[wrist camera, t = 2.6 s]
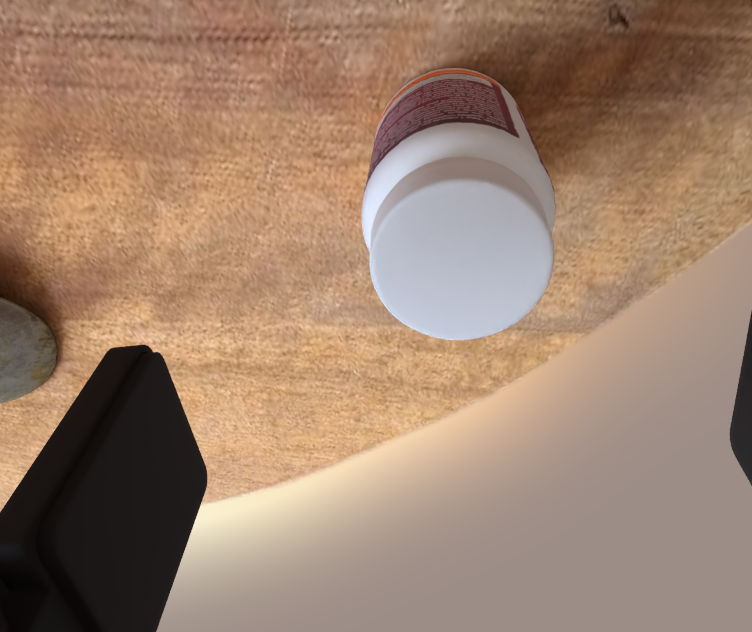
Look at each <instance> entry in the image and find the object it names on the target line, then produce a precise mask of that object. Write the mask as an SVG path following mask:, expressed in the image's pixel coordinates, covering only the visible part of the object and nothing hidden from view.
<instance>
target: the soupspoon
mask: <svg viewBox="0 0 752 632" xmlns="http://www.w3.org/2000/svg"><path fill="white" fill-rule="evenodd" d="M56 356H57V346H56V341H55V338H54V336H53V334H52V332H51V330H50V329H49V328H48V326H47V325H46V324H44V323H43V321H42V320H41V319H40V318H39V317H38V316H36V315H35V314H33V313H31V312H29V311H27V310H26V309H25V308H23V307H22V306H19V305H17V304H15V303H13V302H11V301H8V300H6V299H4V298H1V297H0V403H4V402H8V401H11V400H14V399H17V398H20V397H22V396H24V395H26V394H28V393H30V392H32V391H33V390H35V389H36V388H38V387H39V386H40V385H42V384H43V383H44V382H45V381H46V380H47V379H48V378H49V377H50V374H51V372H52V370H53V369H54V367H55V365H56Z"/></svg>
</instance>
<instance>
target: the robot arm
mask: <svg viewBox="0 0 752 632" xmlns="http://www.w3.org/2000/svg"><path fill="white" fill-rule="evenodd" d="M730 442H731V446H732V450H733V452H734V454H735V456H736V458H737V460H738V462H739V464H740V465H741V467H742V469H743V471H744V472H745V474H746V476H747V477H748V480H749V481H750V483H751V485H752V312H751V318H750V323H749V329H748V334H747V340H746V346H745V351H744V356H743V362H742V367H741V373H740V378H739V384H738V389H737V395H736V400H735V406H734V411H733V416H732V422H731V427H730ZM206 487H207V470H206V466H205V464H204V461H203V458H202V456H201V453H200V451H199V448H198V446H197V443H196V440H195V438H194V435H193V433H192V430H191V428H190V425H189V422H188V420H187V417H186V415H185V412H184V410H183V407H182V404H181V402H180V399H179V397H178V394H177V391H176V389H175V386H174V384H173V381H172V379H171V376H170V373H169V371H168V368H167V366H166V363H165V361H164V358H163V357H162V355H161V354H160V353H158V352H154V353H153V351H152V350H151V349H150V348H149V346H146V345H137V346H126V347H115V348H111V349H110V350H109V351H108V352H107V353H106V354H105V356H104V357H103V359H102V360H101V362H100V363H99V365H98V366H97V368H96V369H95V371H94V372H93V374H92V375H91V377H90V378H89V380H88V381H87V383H86V384H85V386H84V387H83V389H82V390H81V392H80V393H79V395H78V397H77V398H76V400H75V401H74V403H73V404H72V406H71V407H70V409H69V410H68V412H67V413H66V415H65V416H64V418H63V419H62V421H61V422H60V424H59V425H58V427H57V428H56V430H55V431H54V433H53V434H52V436H51V437H50V439H49V440H48V442H47V443H46V445H45V446H44V448H43V449H42V451H41V452H40V454H39V455H38V457H37V458H36V460H35V461H34V463H33V464H32V466H31V467H30V469H29V470H28V472H27V473H26V475H25V476H24V478H23V479H22V481H21V482H20V484H19V485H18V487H17V488H16V490H15V491H14V493H13V494H12V496H11V497H10V499H9V500H8V502H7V503H6V505H5V506H4V508H3V509H2V511H1V512H0V632H156V630H157V628H158V625H159V622H160V619H161V616H162V613H163V611H164V607H165V605H166V602H167V599H168V596H169V593H170V590H171V588H172V585H173V582H174V579H175V576H176V573H177V570H178V567H179V565H180V562H181V559H182V556H183V553H184V550H185V548H186V545H187V542H188V539H189V536H190V533H191V530H192V527H193V525H194V522H195V519H196V516H197V513H198V510H199V508H200V505H201V502H202V499H203V496H204V493H205V490H206Z"/></svg>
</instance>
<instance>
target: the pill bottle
mask: <svg viewBox="0 0 752 632" xmlns="http://www.w3.org/2000/svg"><path fill="white" fill-rule="evenodd" d="M555 210H556V204H555V194H554V188H553V185H552V182H551V180H550V177H549V174H548V172H547V170H546V168H545V167H544V165H543V162H542V160H541V157H540V155H539V152H538V150H537V147H536V146H535V143H534V141H533V138H532V136H531V134H530V131H529V129H528V127H527V125H526V123H525V120H524V118H523V115H522V113H521V111H520V109H519V107H518V105H517V103H516V102H515V100H514V99H513V97H512V96H511V95H510V94H509V93H508V91H507V90H506V89H505V88H504V87H503V86H502V85H501V84H499V83H498V82H496V81H495V80H494V79H492V78H490V77H488V76H486V75H484V74H482V73H479V72H477V71H473V70H469V69H463V68H444V69H438V70H434V71H430V72H428V73H425V74H423V75H420V76H418V77H416V78H415V79H413V80H411V81H410V82H408V83H407V84H406V85H405V86H403V87H402V88H401V89H400V90H399V91H398V92H397V93H396V94H395V95H394V96H393V98H392V99H391V100H390V102H389V103H388V104H387V106H386V108H385V110H384V112H383V114H382V116H381V118H380V121H379V124H378V128H377V132H376V137H375V141H374V148H373V152H372V158H371V164H370V169H369V173H368V179H367V183H366V187H365V190H364V196H363V203H362V228H363V234H364V238H365V242H366V245H367V248H368V250H369V252H370V261H369V262H370V272H371V277H372V282H373V285H374V287H375V290H376V292H377V294H378V296H379V298H380V299H381V301H382V303H383V304H384V305H385V307H386V308H387V309H388V310H389V311H390V312H391V314H392V315H394V316H395V317H396V318H397V319H398V320H399V321H401V322H402V323H403V324H405V325H406V326H408V327H410V328H412V329H414V330H416V331H418V332H420V333H422V334H425V335H428V336H431V337H436V338H441V339H447V340H469V339H476V338H481V337H485V336H489V335H492V334H495V333H498V332H500V331H502V330H505V329H507V328H508V327H510V326H512V325H513V324H515V323H516V322H518V321H519V320H521V319H522V318H523V317H524V316H526V315H527V314H528V313H529V312H530V311H531V310H532V309H533V308H534V307H535V305H536V304H537V303H538V302H539V300H540V299H541V297H542V295H543V294H544V292H545V290H546V288H547V286H548V284H549V281H550V278H551V274H552V270H553V265H554V244H553V239H552V235H551V234H552V230H553V226H554V219H555Z"/></svg>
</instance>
